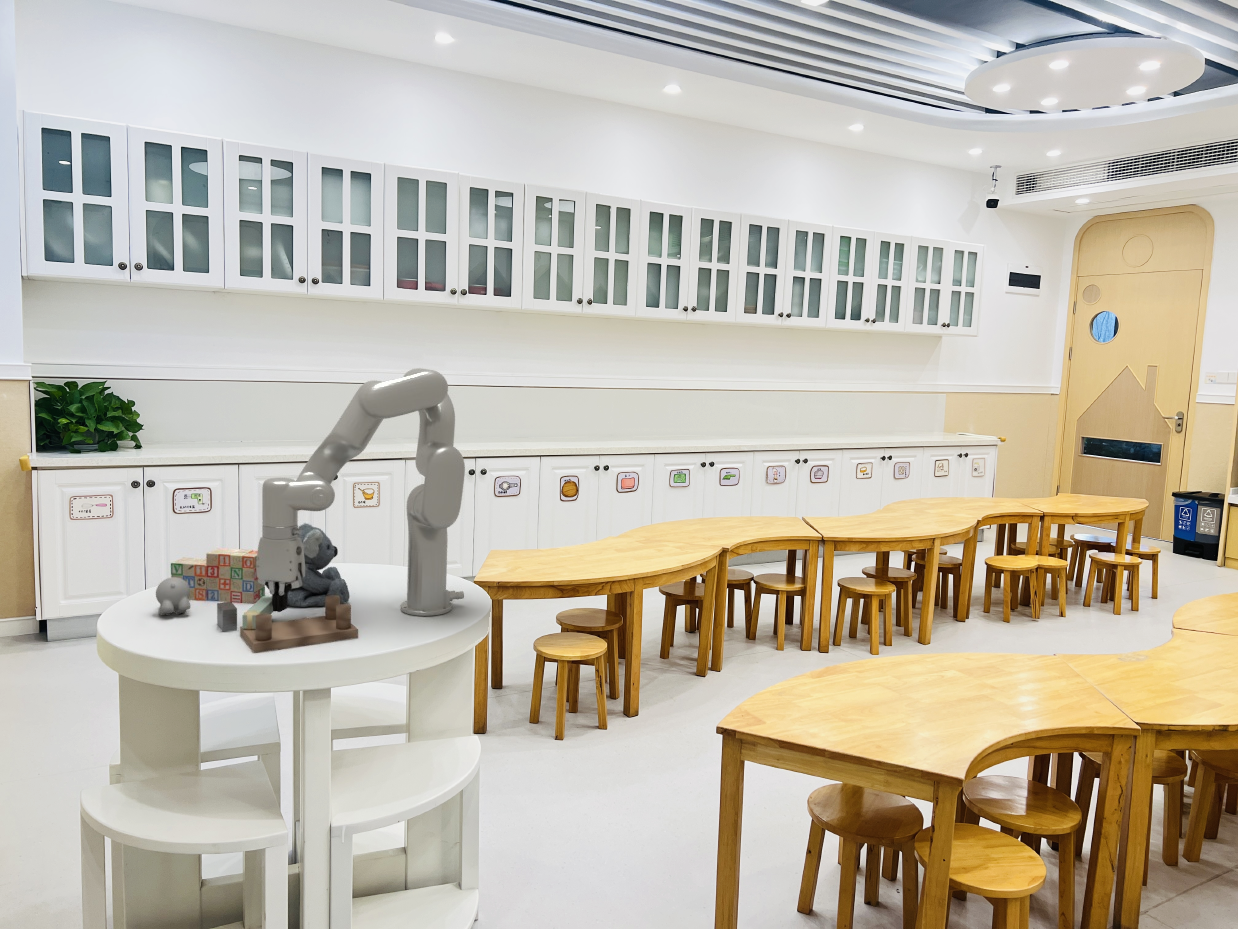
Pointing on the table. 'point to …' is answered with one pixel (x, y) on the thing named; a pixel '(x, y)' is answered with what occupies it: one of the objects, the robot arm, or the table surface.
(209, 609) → the table surface
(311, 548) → the koala plush
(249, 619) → the folding leg
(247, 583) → the stack of blocks
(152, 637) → the table surface
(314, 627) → the stool seat
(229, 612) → the block
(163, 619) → the table surface
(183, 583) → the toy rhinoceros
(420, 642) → the table surface
